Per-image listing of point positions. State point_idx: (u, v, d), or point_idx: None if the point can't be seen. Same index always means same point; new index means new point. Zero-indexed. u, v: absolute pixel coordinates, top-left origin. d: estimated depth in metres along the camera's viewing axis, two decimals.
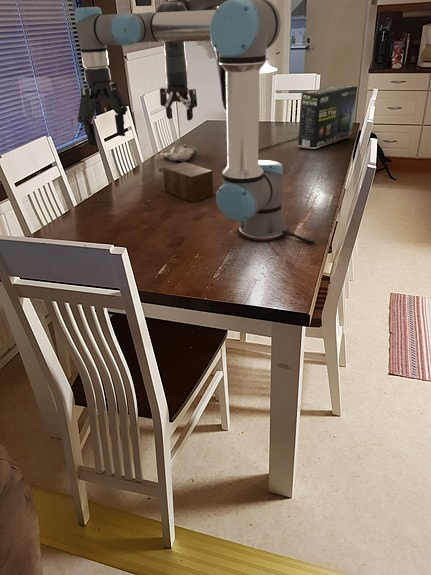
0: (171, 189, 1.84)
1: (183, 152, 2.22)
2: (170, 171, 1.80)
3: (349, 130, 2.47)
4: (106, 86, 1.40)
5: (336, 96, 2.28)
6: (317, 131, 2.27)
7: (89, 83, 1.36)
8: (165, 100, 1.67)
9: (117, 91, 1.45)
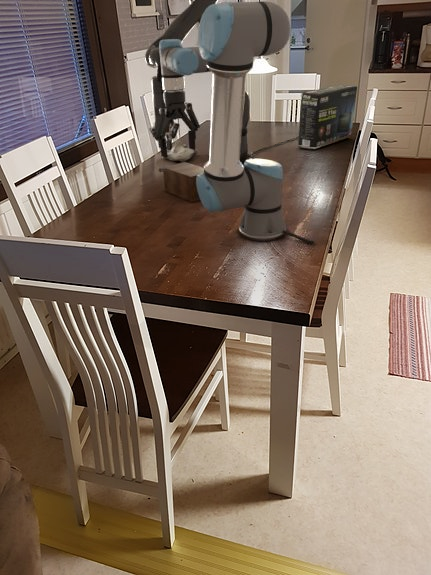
0: (171, 189, 1.84)
1: (183, 152, 2.22)
2: (170, 171, 1.80)
3: (349, 130, 2.47)
4: (181, 106, 1.60)
5: (336, 96, 2.28)
6: (317, 131, 2.27)
7: (166, 103, 1.57)
8: None
9: (191, 110, 1.64)
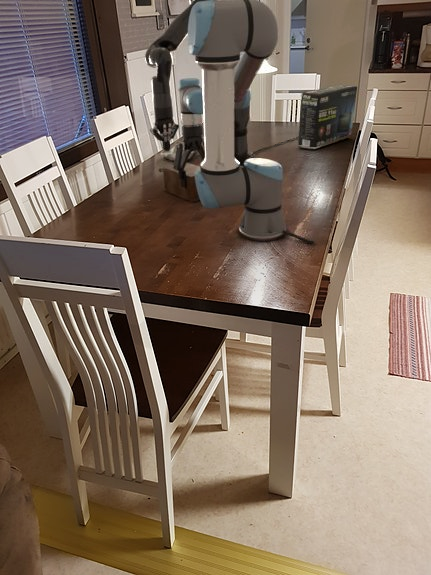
0: (171, 189, 1.84)
1: None
2: (170, 171, 1.80)
3: (349, 130, 2.47)
4: (198, 139, 1.70)
5: (336, 96, 2.28)
6: (317, 131, 2.27)
7: (183, 137, 1.67)
8: (157, 136, 1.82)
9: None
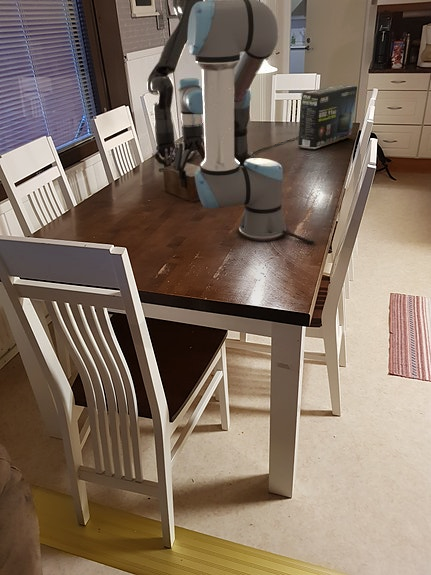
0: (171, 189, 1.84)
1: None
2: (170, 171, 1.80)
3: (349, 130, 2.47)
4: (198, 139, 1.70)
5: (336, 96, 2.28)
6: (317, 131, 2.27)
7: (183, 137, 1.67)
8: None
9: None
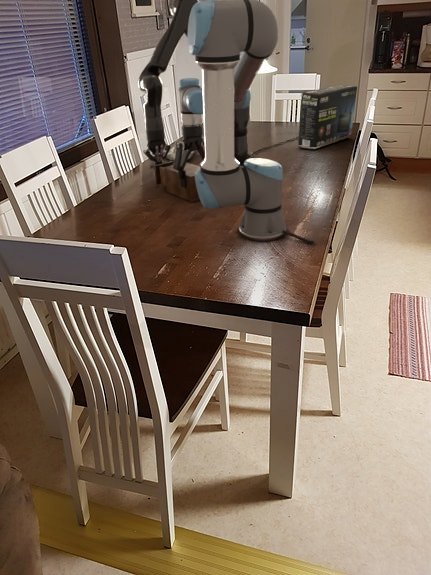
0: (171, 189, 1.84)
1: None
2: (170, 171, 1.80)
3: (349, 130, 2.47)
4: (198, 139, 1.70)
5: (336, 96, 2.28)
6: (317, 131, 2.27)
7: (183, 137, 1.68)
8: None
9: None
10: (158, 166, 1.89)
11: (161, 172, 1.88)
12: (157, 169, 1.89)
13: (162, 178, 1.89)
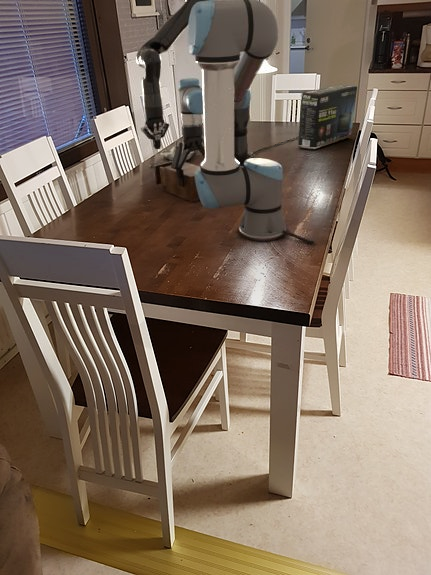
0: (171, 189, 1.84)
1: None
2: (169, 171, 1.80)
3: (349, 130, 2.47)
4: (198, 139, 1.70)
5: (336, 96, 2.28)
6: (317, 131, 2.27)
7: (183, 137, 1.67)
8: None
9: None
10: (158, 166, 1.89)
11: (161, 172, 1.88)
12: (157, 169, 1.89)
13: (162, 178, 1.89)
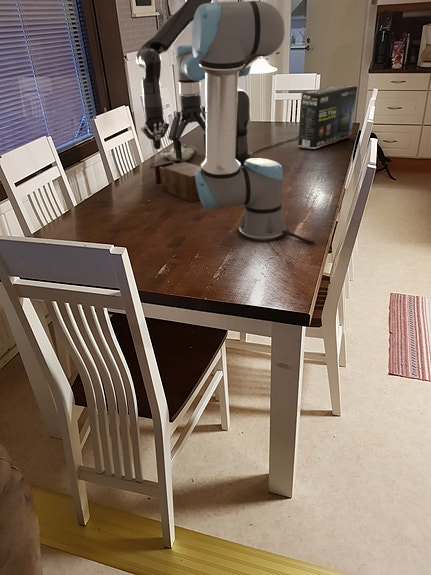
0: (171, 189, 1.84)
1: (183, 152, 2.22)
2: (169, 171, 1.80)
3: (349, 130, 2.47)
4: (197, 110, 1.65)
5: (336, 96, 2.28)
6: (317, 131, 2.27)
7: (181, 107, 1.62)
8: None
9: None
10: (158, 166, 1.89)
11: (161, 172, 1.88)
12: (157, 169, 1.89)
13: (162, 178, 1.89)
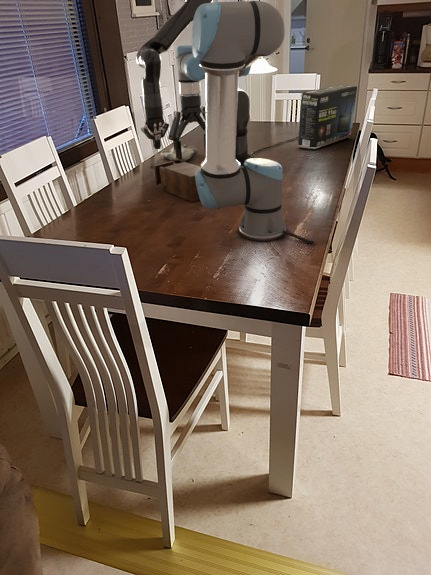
0: (171, 189, 1.84)
1: (183, 152, 2.22)
2: (169, 171, 1.80)
3: (349, 130, 2.47)
4: (197, 110, 1.65)
5: (336, 96, 2.28)
6: (317, 131, 2.27)
7: (181, 107, 1.62)
8: None
9: None
10: (158, 166, 1.89)
11: (161, 172, 1.88)
12: (157, 169, 1.89)
13: (162, 178, 1.89)
